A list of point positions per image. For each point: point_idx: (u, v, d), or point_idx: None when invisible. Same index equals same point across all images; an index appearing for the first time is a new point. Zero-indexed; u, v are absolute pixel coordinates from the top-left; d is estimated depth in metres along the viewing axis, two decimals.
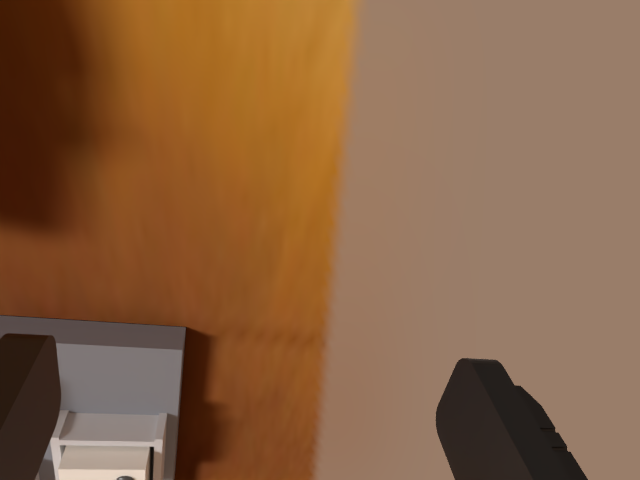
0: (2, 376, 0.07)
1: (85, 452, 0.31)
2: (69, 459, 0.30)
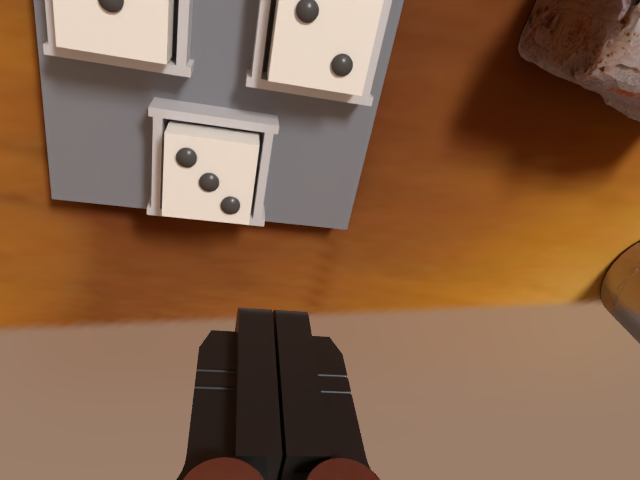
0: (257, 340, 0.09)
1: None
2: None
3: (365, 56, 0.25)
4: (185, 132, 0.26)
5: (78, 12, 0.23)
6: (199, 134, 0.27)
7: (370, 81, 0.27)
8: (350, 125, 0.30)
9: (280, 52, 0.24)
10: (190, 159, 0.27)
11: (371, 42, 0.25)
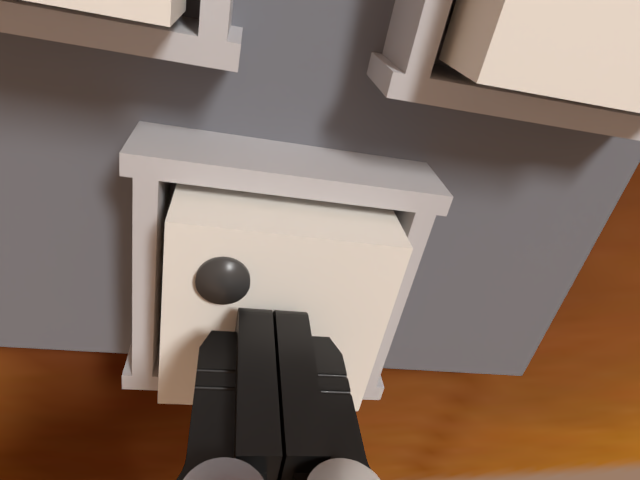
0: (257, 340, 0.09)
1: None
2: None
3: None
4: (220, 217, 0.10)
5: None
6: (258, 220, 0.10)
7: None
8: (581, 183, 0.14)
9: None
10: (234, 285, 0.10)
11: None
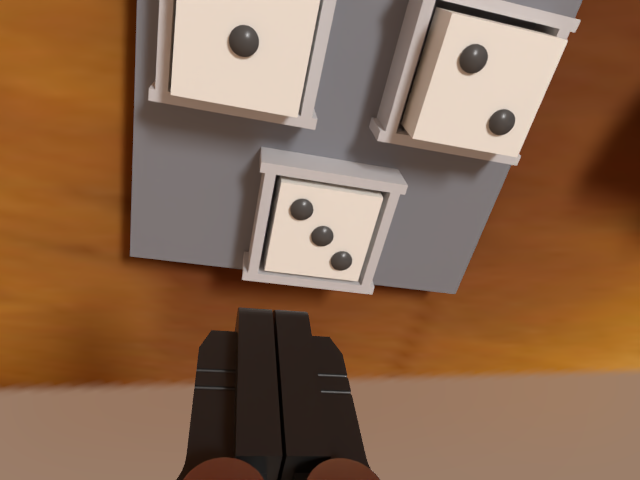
0: (257, 340, 0.09)
1: None
2: None
3: (530, 112, 0.21)
4: (302, 181, 0.23)
5: (202, 55, 0.18)
6: (317, 183, 0.24)
7: None
8: (478, 181, 0.26)
9: (432, 106, 0.20)
10: (306, 211, 0.24)
11: (540, 97, 0.21)
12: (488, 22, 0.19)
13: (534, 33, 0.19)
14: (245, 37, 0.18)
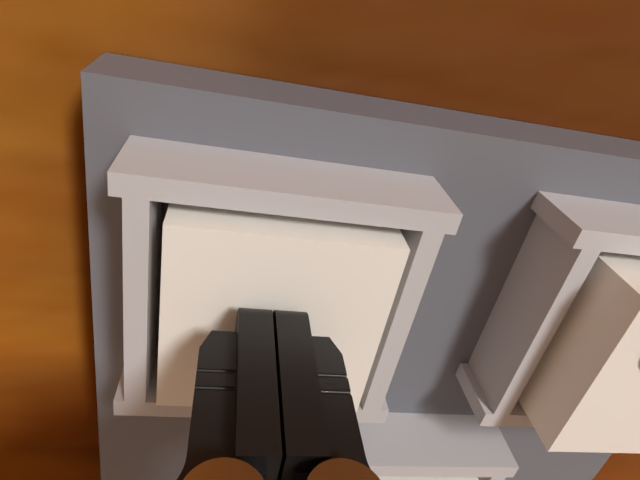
0: (257, 340, 0.09)
1: None
2: None
3: None
4: None
5: None
6: None
7: None
8: None
9: (588, 414, 0.12)
10: None
11: None
12: None
13: None
14: None
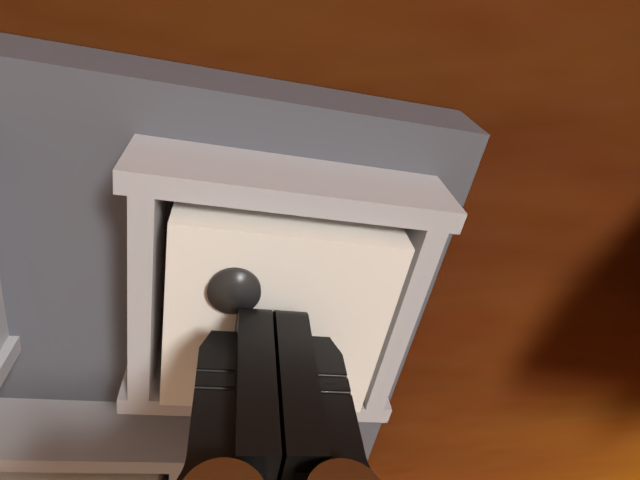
0: (257, 340, 0.09)
1: None
2: None
3: (368, 355, 0.12)
4: None
5: None
6: None
7: (386, 388, 0.13)
8: None
9: (180, 361, 0.11)
10: None
11: (381, 333, 0.11)
12: (248, 232, 0.10)
13: (346, 243, 0.10)
14: None
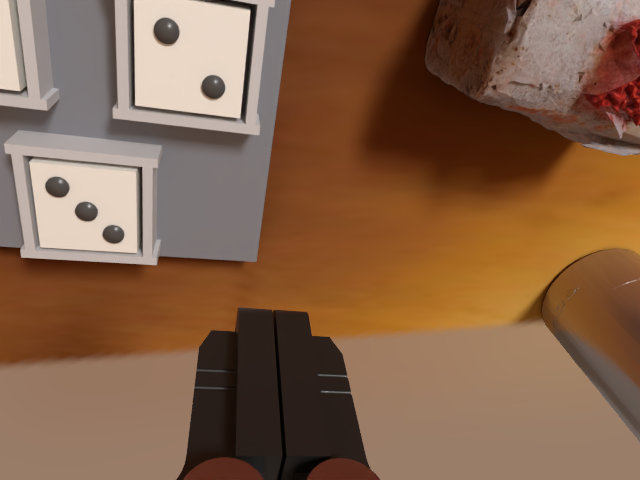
0: (257, 340, 0.09)
1: (139, 184, 0.27)
2: (138, 175, 0.26)
3: (238, 77, 0.24)
4: (54, 160, 0.25)
5: None
6: (70, 162, 0.25)
7: (254, 109, 0.25)
8: (246, 153, 0.28)
9: (144, 75, 0.23)
10: (62, 188, 0.25)
11: (242, 62, 0.23)
12: None
13: (217, 6, 0.22)
14: None
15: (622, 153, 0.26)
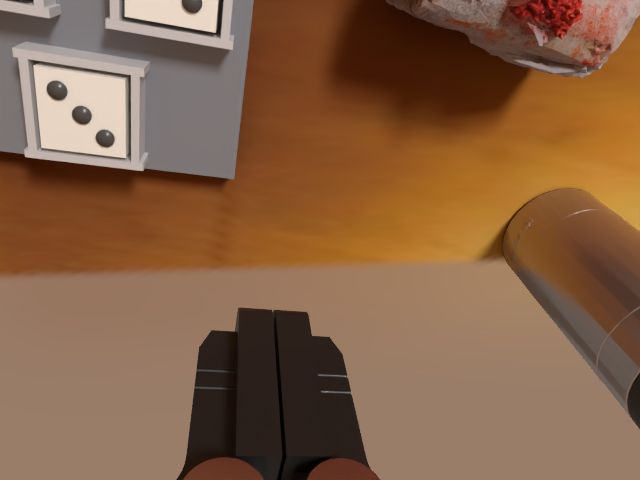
0: (257, 340, 0.09)
1: (129, 95, 0.31)
2: (127, 84, 0.30)
3: None
4: (55, 67, 0.29)
5: None
6: (68, 69, 0.29)
7: (228, 24, 0.28)
8: (223, 72, 0.32)
9: None
10: (61, 91, 0.29)
11: None
12: None
13: None
14: None
15: (552, 71, 0.29)
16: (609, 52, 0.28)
